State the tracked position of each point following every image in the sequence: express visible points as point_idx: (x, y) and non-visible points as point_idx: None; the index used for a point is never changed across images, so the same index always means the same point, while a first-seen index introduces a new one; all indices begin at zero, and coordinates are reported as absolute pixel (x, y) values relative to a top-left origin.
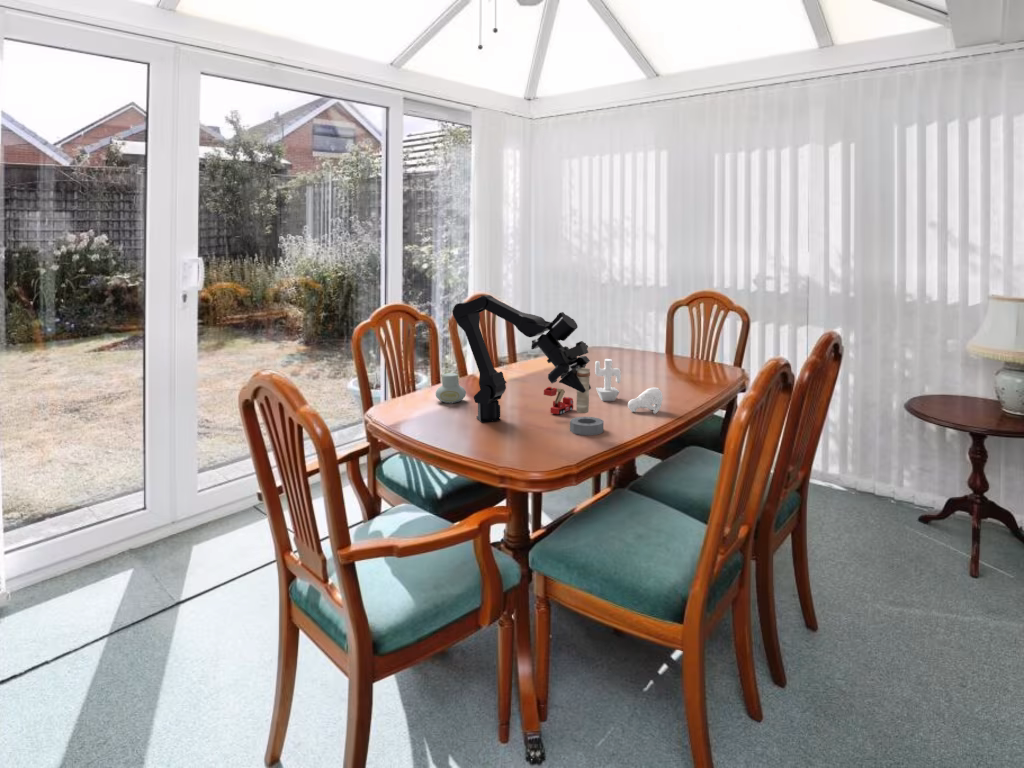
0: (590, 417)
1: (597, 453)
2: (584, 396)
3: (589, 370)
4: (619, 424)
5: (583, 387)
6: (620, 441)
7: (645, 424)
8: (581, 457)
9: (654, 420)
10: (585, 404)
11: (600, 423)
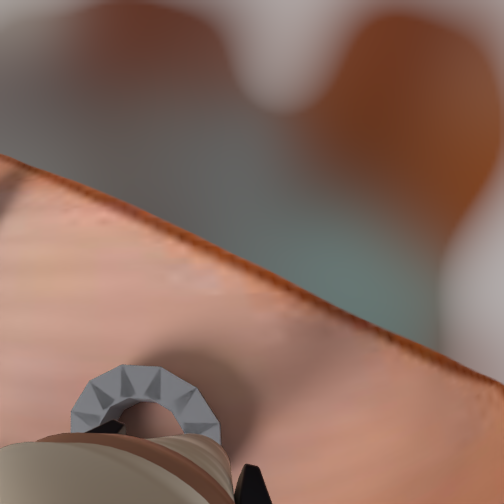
0: (79, 420)
1: (415, 356)
2: (227, 468)
3: (95, 449)
4: (58, 311)
5: (255, 491)
6: (269, 303)
7: (63, 233)
8: (457, 389)
9: (32, 213)
10: (223, 453)
11: (169, 377)
